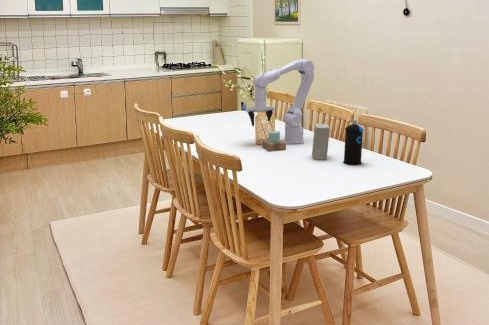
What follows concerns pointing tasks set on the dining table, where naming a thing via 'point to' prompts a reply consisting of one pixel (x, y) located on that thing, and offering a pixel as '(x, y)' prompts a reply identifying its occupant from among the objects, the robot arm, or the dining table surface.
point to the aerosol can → (353, 144)
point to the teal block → (274, 136)
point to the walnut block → (274, 146)
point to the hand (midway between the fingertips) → (260, 125)
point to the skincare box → (320, 141)
